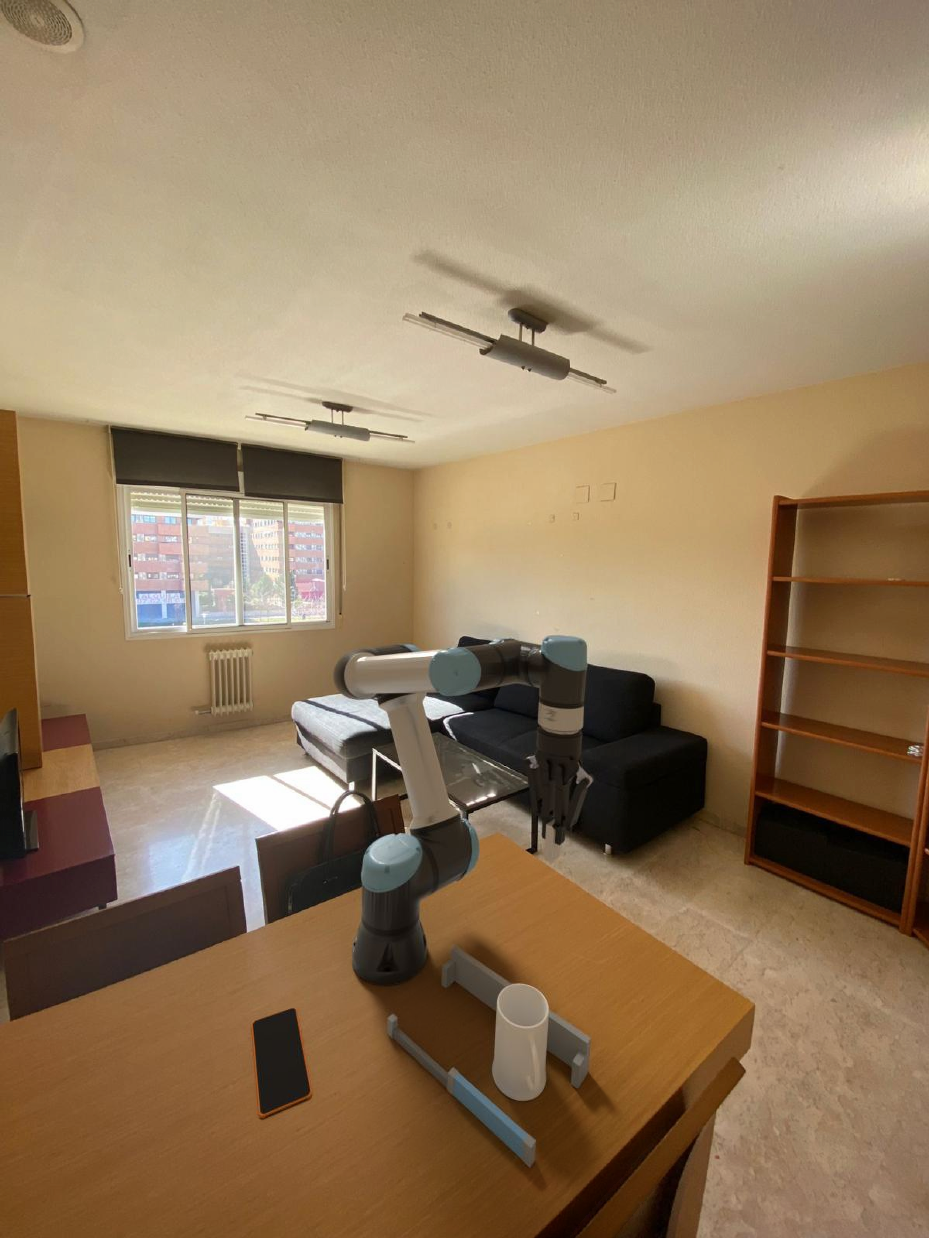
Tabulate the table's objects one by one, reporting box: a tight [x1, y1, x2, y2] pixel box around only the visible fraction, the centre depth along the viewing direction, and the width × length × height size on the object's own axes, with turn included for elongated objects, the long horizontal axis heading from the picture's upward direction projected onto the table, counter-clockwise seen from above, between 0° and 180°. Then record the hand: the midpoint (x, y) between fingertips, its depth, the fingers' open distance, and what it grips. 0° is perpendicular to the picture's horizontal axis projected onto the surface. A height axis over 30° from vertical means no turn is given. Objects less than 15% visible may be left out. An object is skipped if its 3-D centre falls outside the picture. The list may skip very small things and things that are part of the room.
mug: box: [491, 983, 550, 1102], centre depth 78 cm, size 12×8×12 cm
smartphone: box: [250, 1007, 313, 1119], centre depth 81 cm, size 8×17×1 cm, turn 27°
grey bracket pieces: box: [386, 945, 592, 1168], centre depth 83 cm, size 29×17×6 cm, turn 50°
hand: (551, 858), depth 88 cm, fingers closed
